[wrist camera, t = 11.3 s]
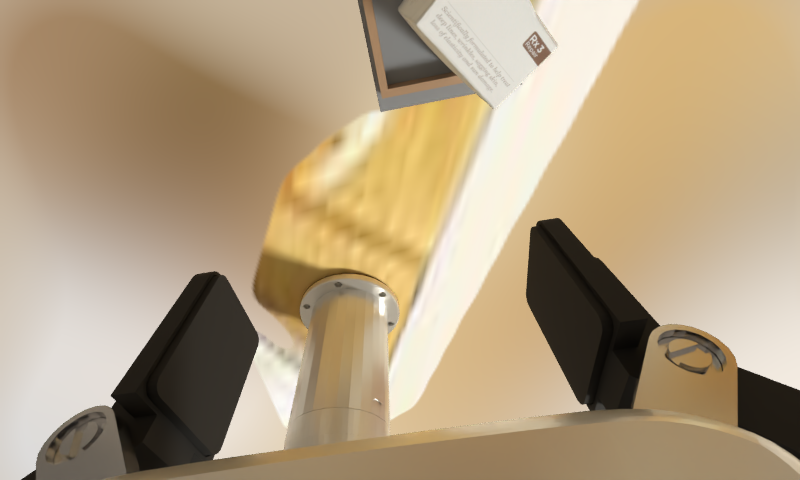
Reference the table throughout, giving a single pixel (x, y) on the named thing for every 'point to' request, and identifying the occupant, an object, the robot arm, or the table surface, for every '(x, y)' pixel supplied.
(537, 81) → the table surface
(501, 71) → the skincare box
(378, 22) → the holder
